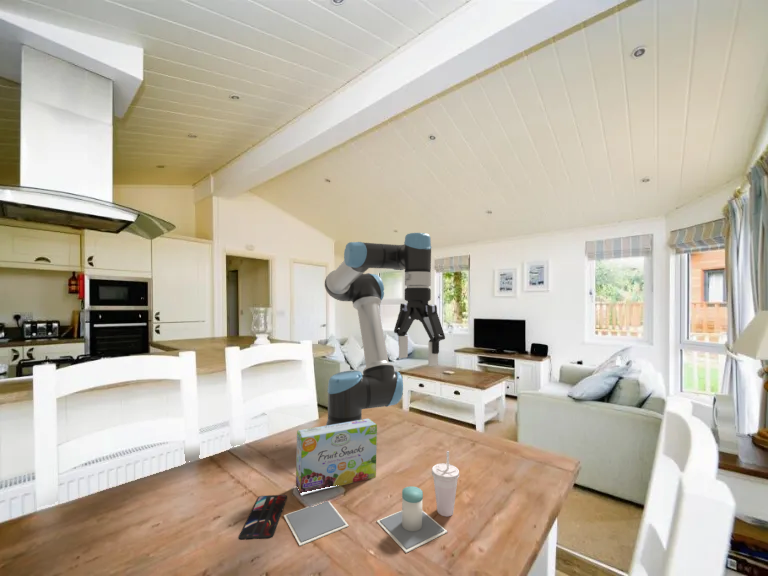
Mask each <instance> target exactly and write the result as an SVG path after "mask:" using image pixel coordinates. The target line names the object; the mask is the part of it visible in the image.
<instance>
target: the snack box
mask: <svg viewBox="0 0 768 576" xmlns="http://www.w3.org/2000/svg"><path fill="white" fill-rule="evenodd" d="M377 439H378V424H377V423H375V422H374V421H373V420H372V419H371V418H363V419H362V420H357V421H351V422H345V423H339V424H333V425H327V426H326V425H322V426H315V427H311V428H304V429H298V430H297V431H296V461H295V462H296V467H295V486H296V488H297V487H298V488H297V490H298V489H299V491H300V493H302V492H307V491H312V490H316V489H321V488H325V487H330V486H336V485H337V486H338V485H339V486H338V487H342V486H346V485H349V484H350V485H351V484H353V483H354V484H355V483H357V482H361V481H366V480H369V479H374V478H376V476H377V448H378V447H377V445H378V443H377V441H378V440H377ZM299 491H298V492H299ZM300 493H299V494H300Z"/></svg>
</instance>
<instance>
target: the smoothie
mask: <svg viewBox="0 0 768 576" xmlns="http://www.w3.org/2000/svg"><path fill="white" fill-rule="evenodd" d="M431 475H432V477H433V484H434V494H435V501H436V511H437V514H439V515H440V516H443V517H451V516H453V515H454V511H455V502H456V496H457V495H456V494H457V487H458V485H457V484H458V478H459V477H460V470H459V468H458V467H456V466H455V465H453V464H450V451H449V450H447V451H446V463H445V462H444V463H443V462H442V463H436V464H435V465H433V466H432V468H431Z"/></svg>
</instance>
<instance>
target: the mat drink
mask: <svg viewBox="0 0 768 576" xmlns="http://www.w3.org/2000/svg"><path fill="white" fill-rule="evenodd" d="M376 523H377V524H378V525H379V526H380V527H381V529H383V530H384V531H385V532H386V533H387V534H388V535H389V536H390V537H391V539H392V540H393V541H394V542H395V543H396V544H397V545H398V546H399V547H400V548H401V549H402V550H403V551H404V553H406V554H408V553H409V552H411V551H413V550H416V549H418V548H419V547H421V546H424V545H425V544H427V543H429V542H431V541H433V540H436V539H437V538H439V537H441V536H443V535H445V534H447V533H448V530H447V529H445V528H444V527H443V526H442V525H441V524H440V523H438V522H437V521H436V520H435V519H433V517H432V516H430V515H429V514H428V513H427V512H425V511H424V510H423V509H422V527H421V529H420V530H418V531H408V530H406V529H404V528H403V527H402V509H401V510H400V511H397V512H394V513H392V514H390V515H388V516H385V517H383V518H381V519H378V520H376Z"/></svg>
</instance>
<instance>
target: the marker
mask: <svg viewBox="0 0 768 576" xmlns="http://www.w3.org/2000/svg"><path fill="white" fill-rule="evenodd" d="M423 493H424V491H423V490H422V489H421V488H419V487H417V486H413V485H412V486H411V485H410V486H405V487H404V488H403V489H402V491H401V497H402V499H401V500H402V501H401V502H402V503H401V506H402V507H401V510H402V527H403V528H404V529H406V530H408V531H418V530H420V529H421V527H422V510H423V498H424V496H423V495H424V494H423Z"/></svg>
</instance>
